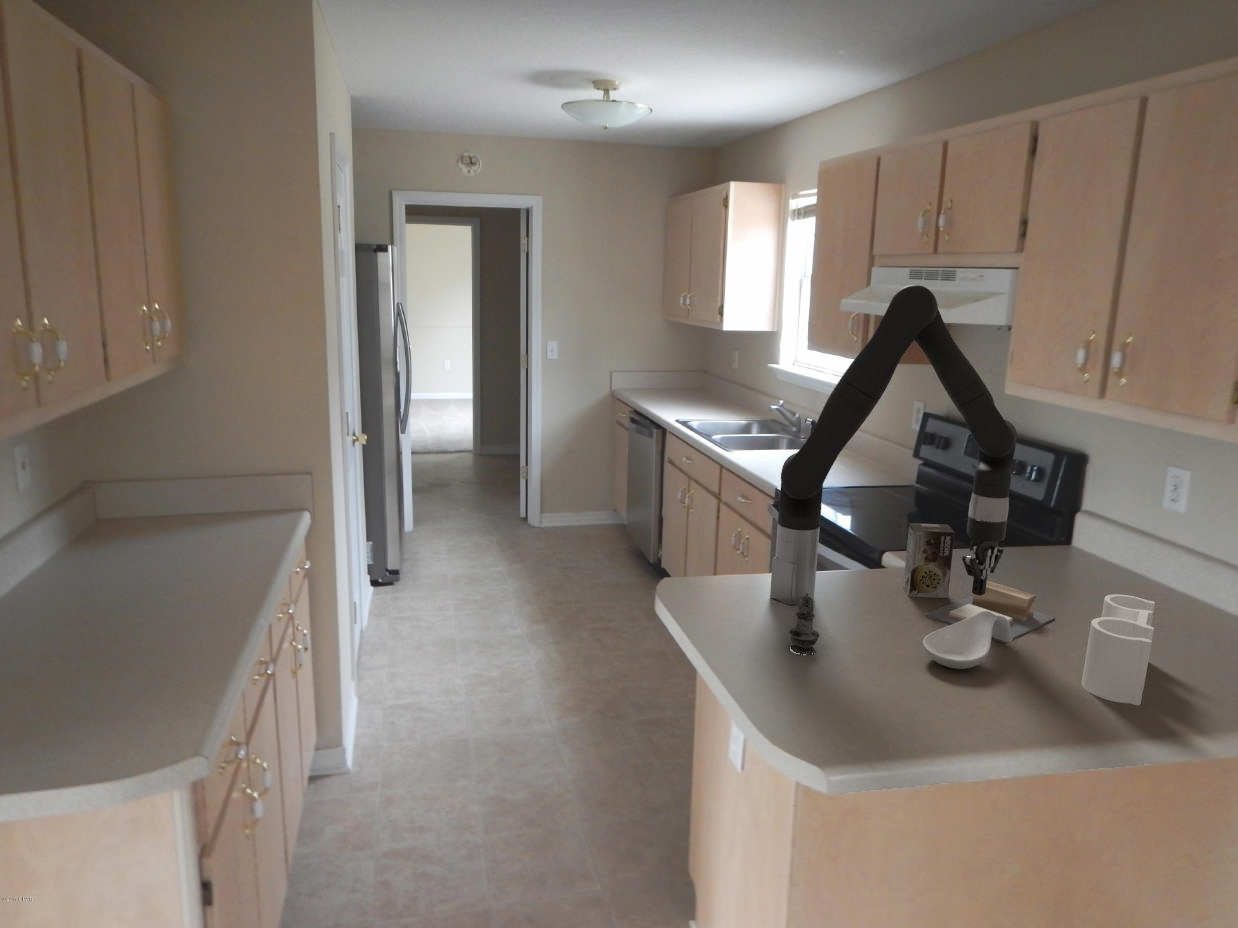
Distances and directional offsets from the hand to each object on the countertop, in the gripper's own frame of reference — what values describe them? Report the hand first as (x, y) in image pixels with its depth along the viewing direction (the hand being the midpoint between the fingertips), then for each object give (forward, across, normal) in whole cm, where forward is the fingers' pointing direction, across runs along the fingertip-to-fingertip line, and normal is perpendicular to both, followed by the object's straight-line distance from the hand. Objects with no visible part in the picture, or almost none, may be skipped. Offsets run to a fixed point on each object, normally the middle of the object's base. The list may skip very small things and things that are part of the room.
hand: (978, 593), depth 188 cm
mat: (+7, -6, 0) cm, 9 cm away
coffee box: (+7, -8, -17) cm, 20 cm away
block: (+7, -12, 0) cm, 13 cm away
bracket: (+7, +1, +29) cm, 30 cm away
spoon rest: (+7, +16, +8) cm, 19 cm away
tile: (+6, -2, 0) cm, 6 cm away
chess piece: (+7, +41, -13) cm, 44 cm away
